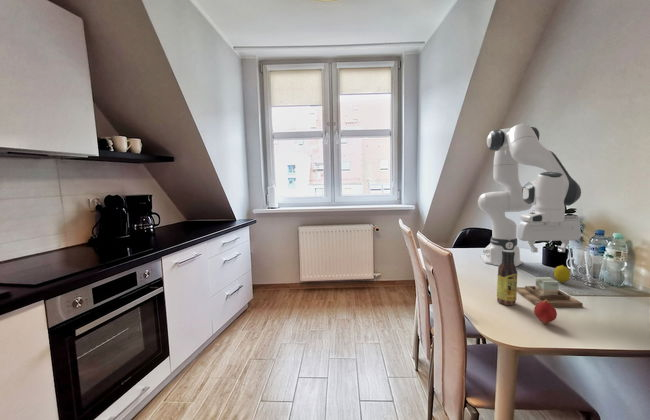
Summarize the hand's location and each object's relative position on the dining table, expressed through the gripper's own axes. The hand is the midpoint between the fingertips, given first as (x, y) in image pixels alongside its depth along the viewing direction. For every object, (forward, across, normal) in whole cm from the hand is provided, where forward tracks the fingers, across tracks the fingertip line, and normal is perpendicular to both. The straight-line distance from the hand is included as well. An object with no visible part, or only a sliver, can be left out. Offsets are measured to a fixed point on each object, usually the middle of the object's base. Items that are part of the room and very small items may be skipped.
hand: (547, 252), depth 109 cm
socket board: (+18, 0, 0) cm, 18 cm away
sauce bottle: (+18, +16, +4) cm, 25 cm away
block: (+17, 0, 0) cm, 17 cm away
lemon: (+19, -16, -17) cm, 30 cm away
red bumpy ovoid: (+18, +12, +20) cm, 30 cm away
